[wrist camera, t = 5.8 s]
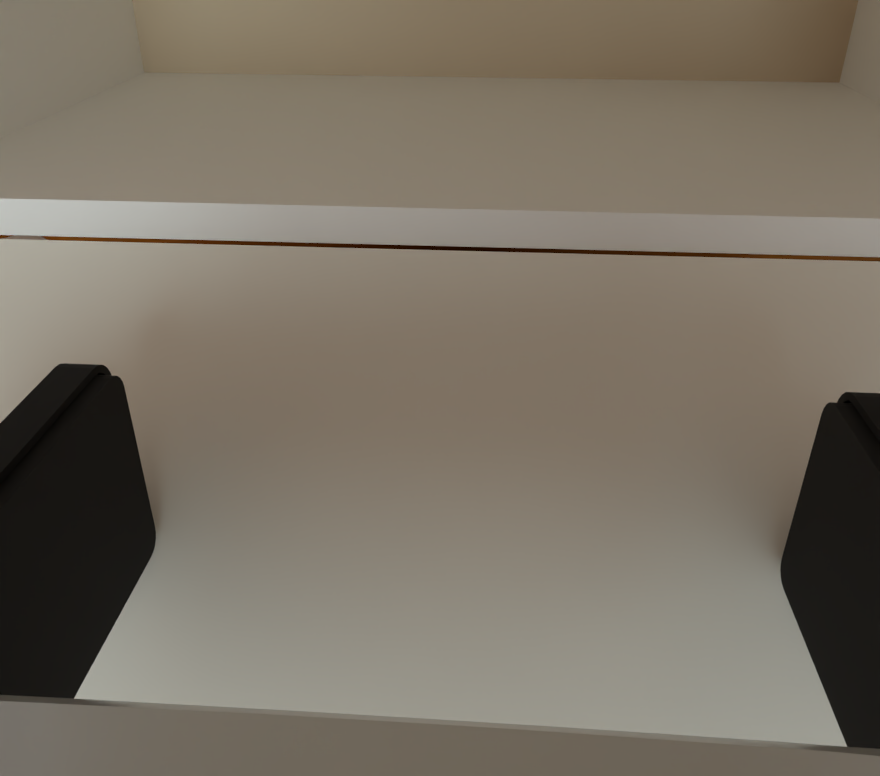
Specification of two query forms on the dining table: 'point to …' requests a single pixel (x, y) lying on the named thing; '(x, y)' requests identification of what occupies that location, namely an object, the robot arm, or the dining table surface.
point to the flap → (460, 474)
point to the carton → (446, 123)
